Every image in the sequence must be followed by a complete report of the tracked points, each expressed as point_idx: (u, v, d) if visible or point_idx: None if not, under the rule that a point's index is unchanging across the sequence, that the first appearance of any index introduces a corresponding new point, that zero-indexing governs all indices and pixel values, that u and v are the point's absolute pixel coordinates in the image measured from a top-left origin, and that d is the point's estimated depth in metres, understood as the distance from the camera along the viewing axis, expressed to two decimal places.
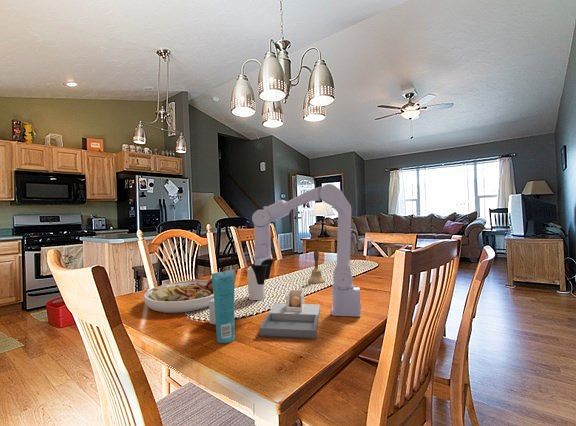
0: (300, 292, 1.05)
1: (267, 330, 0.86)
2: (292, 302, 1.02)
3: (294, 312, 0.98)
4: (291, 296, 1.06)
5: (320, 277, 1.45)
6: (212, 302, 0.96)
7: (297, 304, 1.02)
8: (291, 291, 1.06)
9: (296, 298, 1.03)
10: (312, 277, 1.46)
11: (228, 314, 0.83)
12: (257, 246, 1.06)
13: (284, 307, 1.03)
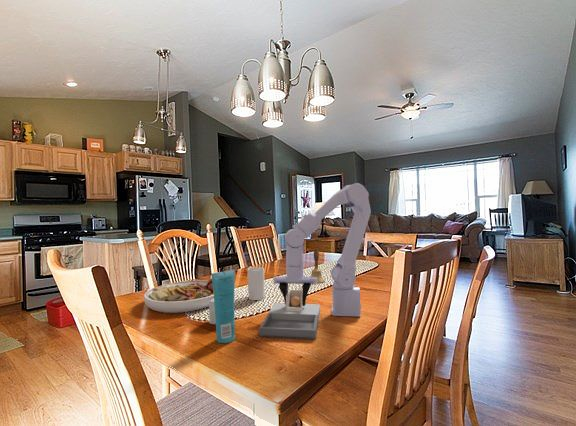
0: (300, 292, 1.05)
1: (267, 330, 0.86)
2: (292, 302, 1.02)
3: (294, 312, 0.98)
4: (291, 296, 1.06)
5: (320, 277, 1.45)
6: (212, 302, 0.96)
7: (297, 304, 1.02)
8: (291, 291, 1.06)
9: (296, 298, 1.03)
10: None
11: (228, 314, 0.83)
12: None
13: (284, 307, 1.03)
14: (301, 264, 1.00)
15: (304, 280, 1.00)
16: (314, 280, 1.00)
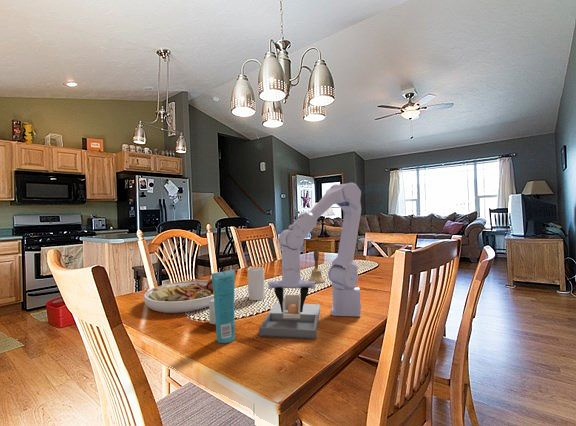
0: (296, 297, 0.98)
1: (267, 330, 0.86)
2: (290, 305, 0.96)
3: None
4: (286, 301, 0.98)
5: (320, 277, 1.45)
6: (212, 302, 0.96)
7: (295, 305, 0.96)
8: (286, 296, 0.98)
9: None
10: (312, 277, 1.46)
11: (228, 314, 0.83)
12: None
13: None
14: (299, 266, 0.94)
15: (302, 284, 0.93)
16: (312, 284, 0.93)
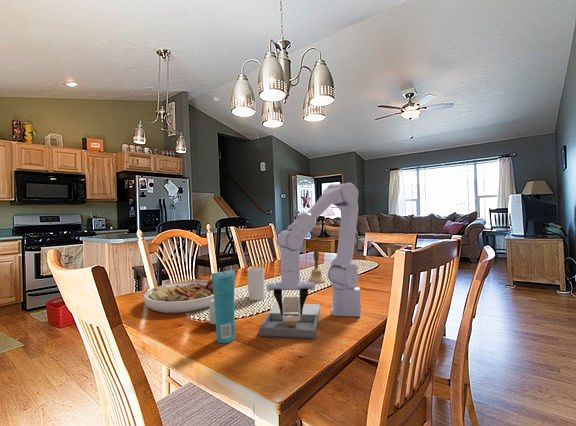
0: (295, 299, 0.96)
1: (267, 330, 0.86)
2: None
3: (294, 312, 0.98)
4: (285, 304, 0.96)
5: (320, 277, 1.45)
6: (212, 302, 0.96)
7: None
8: (285, 298, 0.96)
9: (291, 323, 0.90)
10: (312, 277, 1.46)
11: (228, 314, 0.83)
12: None
13: None
14: (299, 268, 0.92)
15: (302, 286, 0.91)
16: (312, 285, 0.92)
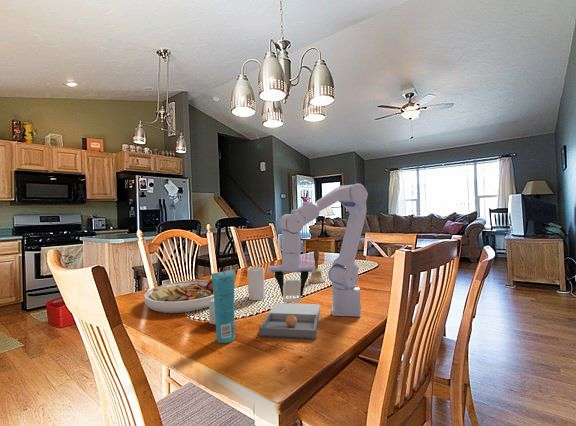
0: (296, 282, 0.98)
1: (267, 330, 0.86)
2: None
3: (294, 312, 0.98)
4: (287, 287, 0.98)
5: (320, 277, 1.45)
6: (212, 302, 0.96)
7: (293, 325, 0.91)
8: (287, 281, 0.98)
9: (291, 323, 0.90)
10: (312, 277, 1.46)
11: (228, 314, 0.83)
12: None
13: (284, 307, 1.03)
14: (299, 251, 0.94)
15: (302, 268, 0.93)
16: (313, 268, 0.93)
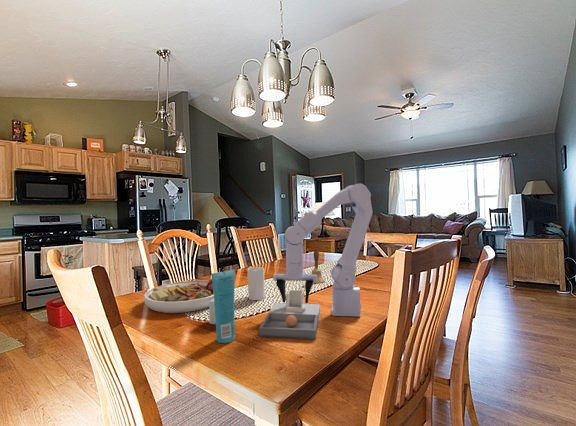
0: (300, 292, 1.05)
1: (267, 330, 0.86)
2: None
3: (294, 312, 0.98)
4: (291, 296, 1.06)
5: (320, 277, 1.45)
6: (212, 302, 0.96)
7: (293, 325, 0.91)
8: (291, 291, 1.06)
9: (291, 323, 0.90)
10: None
11: (228, 314, 0.83)
12: None
13: (284, 307, 1.03)
14: (301, 261, 1.00)
15: (304, 277, 1.00)
16: (314, 277, 1.00)
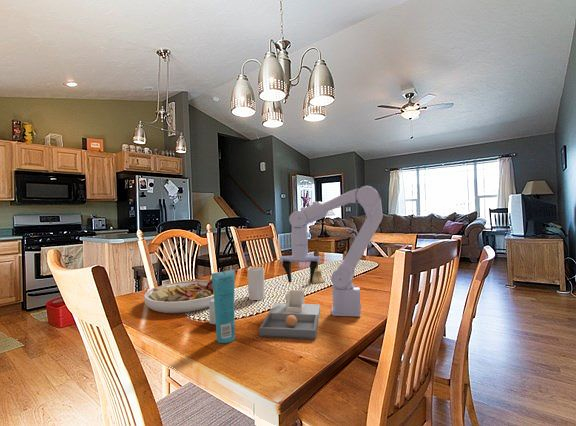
0: (300, 292, 1.05)
1: (267, 330, 0.86)
2: None
3: (294, 312, 0.98)
4: (291, 296, 1.06)
5: (320, 277, 1.45)
6: (212, 302, 0.96)
7: (293, 325, 0.91)
8: (291, 291, 1.06)
9: (291, 323, 0.90)
10: None
11: (228, 314, 0.83)
12: None
13: (284, 307, 1.03)
14: (303, 244, 1.06)
15: (309, 258, 1.06)
16: (318, 258, 1.07)
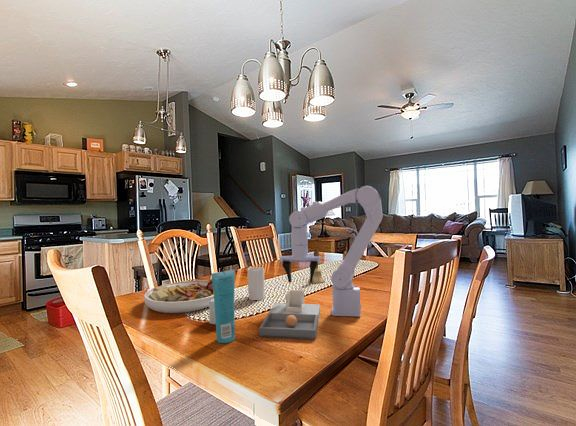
0: (300, 292, 1.05)
1: (267, 330, 0.86)
2: None
3: (294, 312, 0.98)
4: (291, 296, 1.06)
5: (320, 277, 1.45)
6: (212, 302, 0.96)
7: (293, 325, 0.91)
8: (291, 291, 1.06)
9: (291, 323, 0.90)
10: None
11: (228, 314, 0.83)
12: None
13: (284, 307, 1.03)
14: (303, 244, 1.06)
15: (309, 258, 1.06)
16: (318, 258, 1.07)
